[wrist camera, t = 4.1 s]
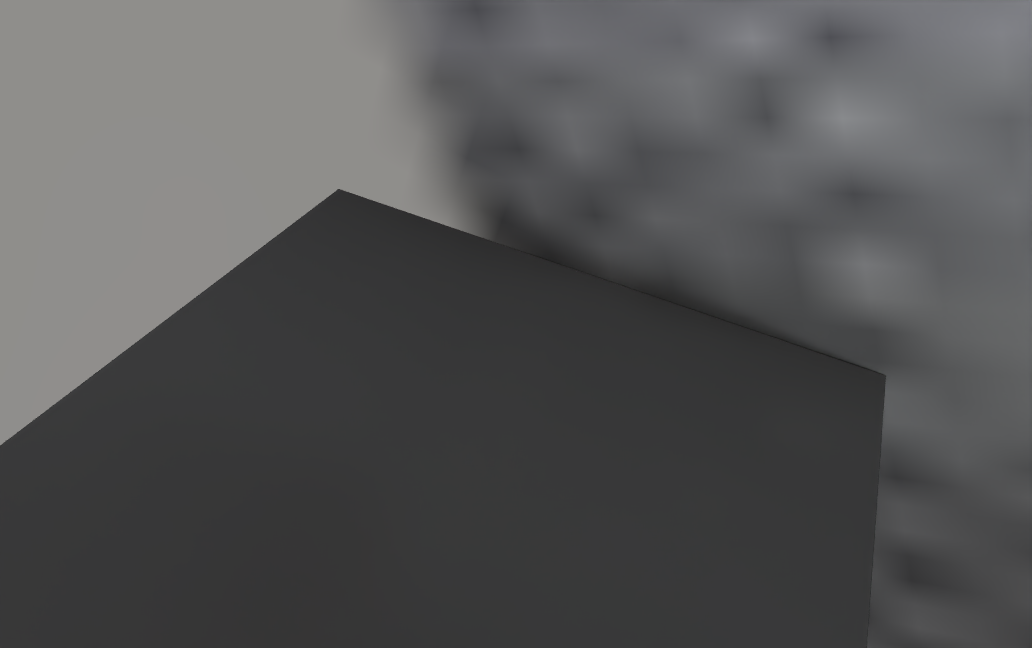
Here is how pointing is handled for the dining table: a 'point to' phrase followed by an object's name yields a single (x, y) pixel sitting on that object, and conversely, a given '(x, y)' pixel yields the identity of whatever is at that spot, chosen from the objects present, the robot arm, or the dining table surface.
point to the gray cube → (442, 465)
